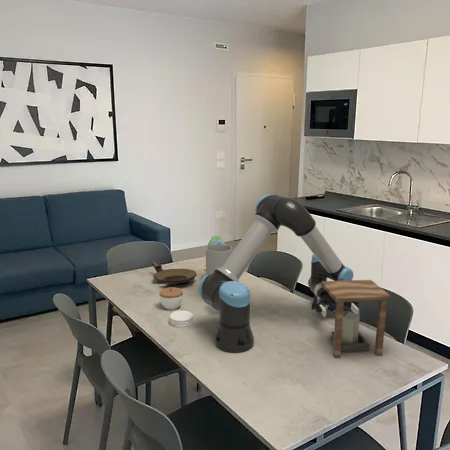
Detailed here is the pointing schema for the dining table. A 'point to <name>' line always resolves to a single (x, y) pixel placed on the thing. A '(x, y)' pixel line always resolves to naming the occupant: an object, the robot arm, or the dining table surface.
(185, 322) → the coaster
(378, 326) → the awning stand
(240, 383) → the dining table surface
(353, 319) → the skincare box
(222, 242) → the potted cactus
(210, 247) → the cylinder vase
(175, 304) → the lidded jar
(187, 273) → the brown frying pan
